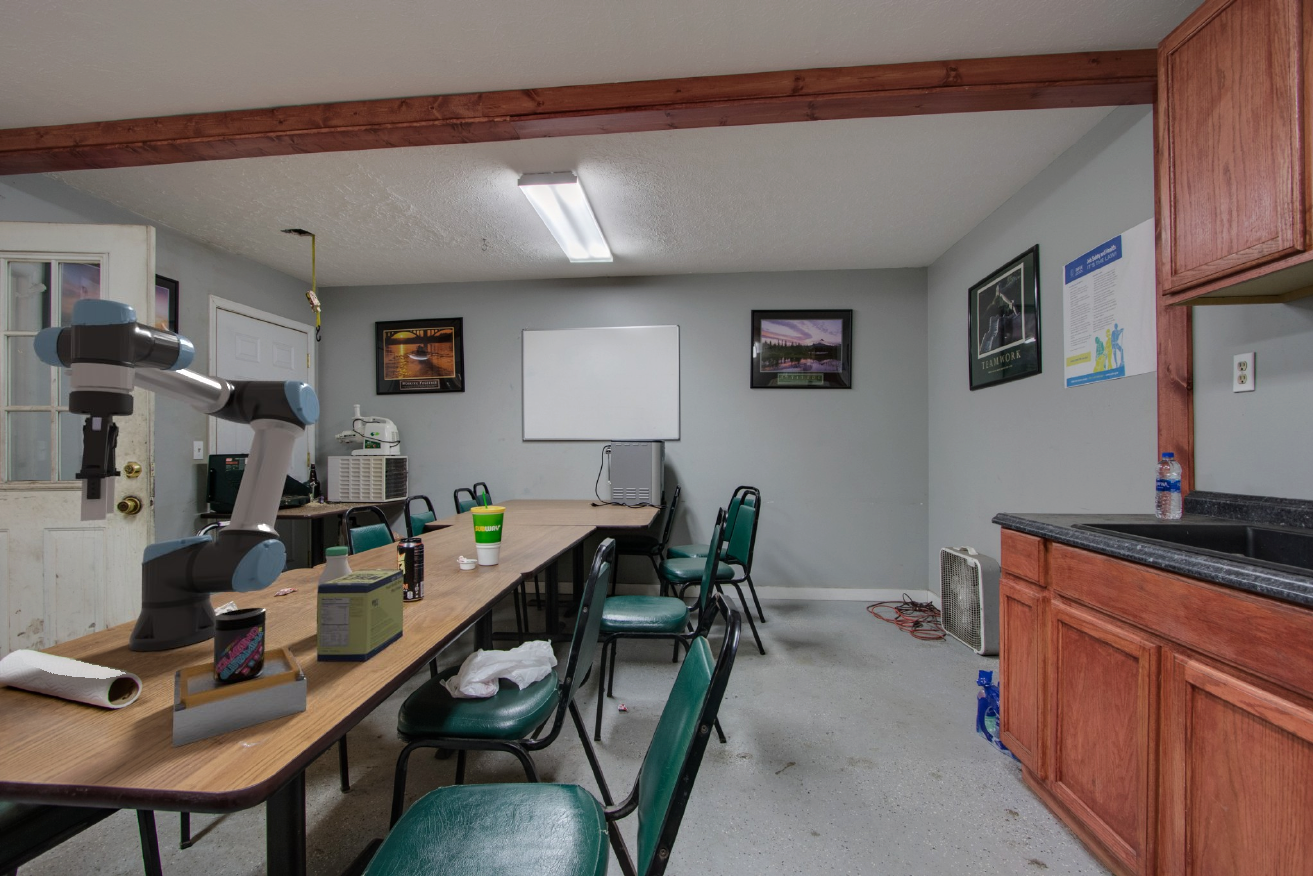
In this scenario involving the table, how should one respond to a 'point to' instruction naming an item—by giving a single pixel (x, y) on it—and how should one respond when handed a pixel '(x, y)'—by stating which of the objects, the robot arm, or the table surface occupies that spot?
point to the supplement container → (239, 645)
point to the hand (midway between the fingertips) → (98, 516)
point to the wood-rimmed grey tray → (236, 698)
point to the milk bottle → (334, 566)
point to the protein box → (359, 615)
